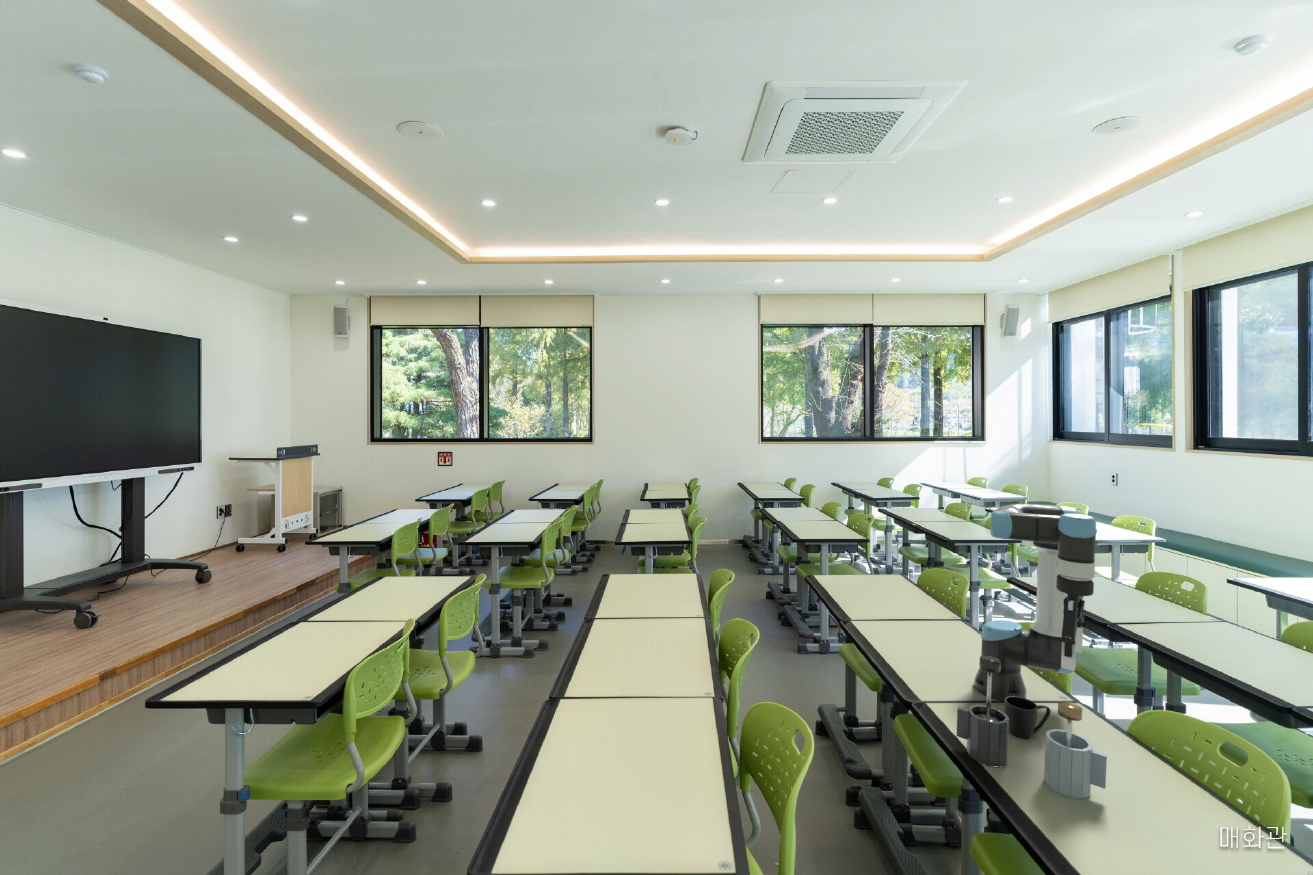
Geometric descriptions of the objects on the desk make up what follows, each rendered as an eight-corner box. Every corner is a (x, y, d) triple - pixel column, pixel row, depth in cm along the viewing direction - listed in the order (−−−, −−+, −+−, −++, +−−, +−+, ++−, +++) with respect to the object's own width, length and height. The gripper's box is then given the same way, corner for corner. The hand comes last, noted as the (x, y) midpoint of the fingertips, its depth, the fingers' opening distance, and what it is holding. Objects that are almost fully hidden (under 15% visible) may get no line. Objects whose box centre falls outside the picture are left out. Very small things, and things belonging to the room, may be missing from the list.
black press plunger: (978, 713, 160) (980, 652, 160) (1004, 722, 156) (1006, 659, 155) (972, 722, 156) (974, 659, 155) (998, 731, 151) (1000, 666, 151)
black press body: (961, 738, 165) (962, 697, 164) (1010, 755, 157) (1011, 713, 156) (951, 752, 158) (953, 710, 158) (1002, 771, 150) (1004, 727, 149)
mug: (1056, 744, 162) (1057, 712, 162) (1011, 740, 164) (1012, 708, 163) (1041, 728, 170) (1042, 697, 170) (998, 725, 172) (999, 694, 172)
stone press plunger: (1054, 762, 149) (1056, 697, 148) (1084, 773, 144) (1087, 705, 144) (1050, 774, 144) (1052, 706, 143) (1081, 785, 140) (1084, 715, 139)
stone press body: (1047, 769, 151) (1049, 725, 150) (1106, 790, 143) (1108, 743, 142) (1041, 786, 144) (1043, 740, 143) (1103, 809, 136) (1105, 760, 135)
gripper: (1064, 564, 154) (1061, 641, 155) (1048, 584, 135) (1045, 671, 136) (1099, 569, 149) (1095, 648, 150) (1088, 591, 130) (1084, 681, 131)
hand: (1071, 659), depth 143 cm, fingers open, 13 cm apart
